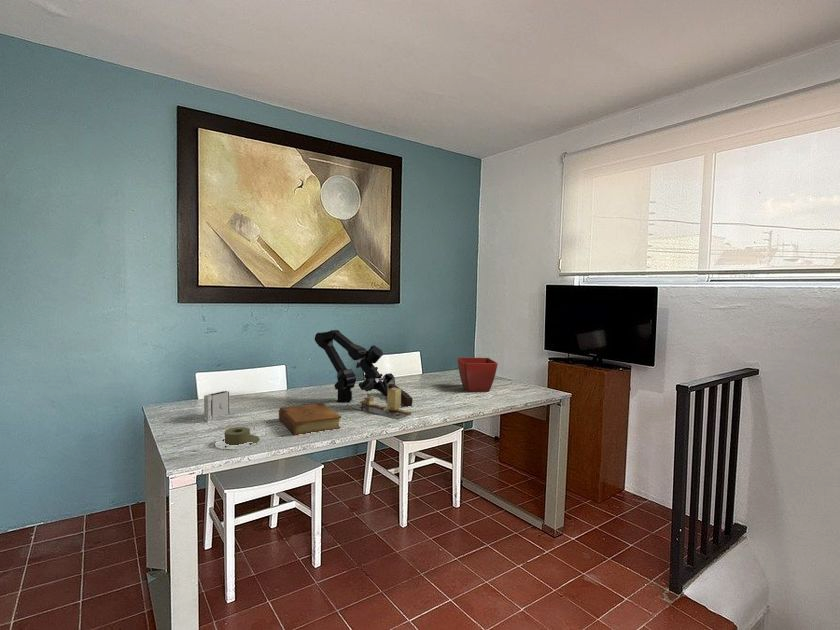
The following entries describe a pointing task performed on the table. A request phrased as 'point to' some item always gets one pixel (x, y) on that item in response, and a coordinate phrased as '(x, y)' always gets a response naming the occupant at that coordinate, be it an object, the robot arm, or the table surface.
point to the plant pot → (477, 373)
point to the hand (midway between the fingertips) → (387, 395)
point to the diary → (309, 418)
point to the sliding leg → (393, 399)
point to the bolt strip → (380, 411)
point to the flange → (239, 436)
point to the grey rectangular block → (216, 404)
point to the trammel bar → (369, 402)
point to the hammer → (405, 397)
